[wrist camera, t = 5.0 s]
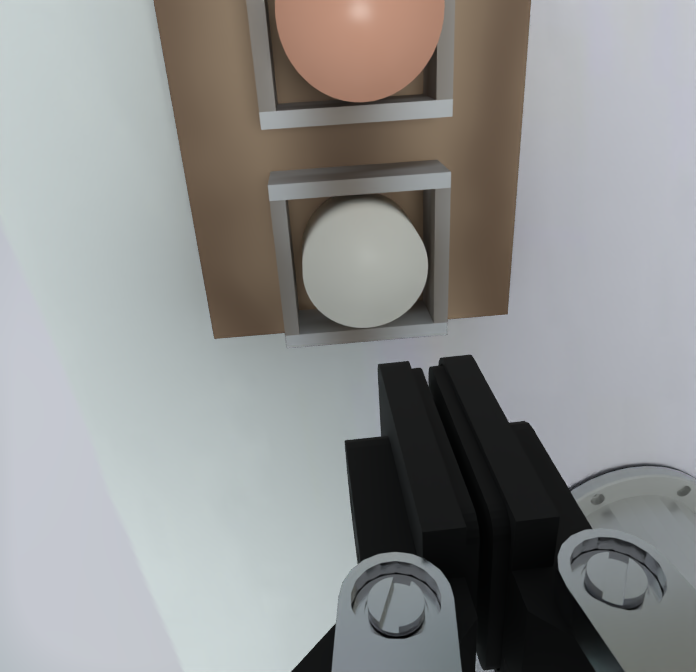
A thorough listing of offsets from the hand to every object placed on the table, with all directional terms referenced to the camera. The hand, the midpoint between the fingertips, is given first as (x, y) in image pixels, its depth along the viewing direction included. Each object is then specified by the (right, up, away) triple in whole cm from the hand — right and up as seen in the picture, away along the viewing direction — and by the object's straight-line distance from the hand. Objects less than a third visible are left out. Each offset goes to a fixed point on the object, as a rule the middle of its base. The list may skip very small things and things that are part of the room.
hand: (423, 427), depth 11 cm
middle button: (-1, +13, +9) cm, 16 cm away
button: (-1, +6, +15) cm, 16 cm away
